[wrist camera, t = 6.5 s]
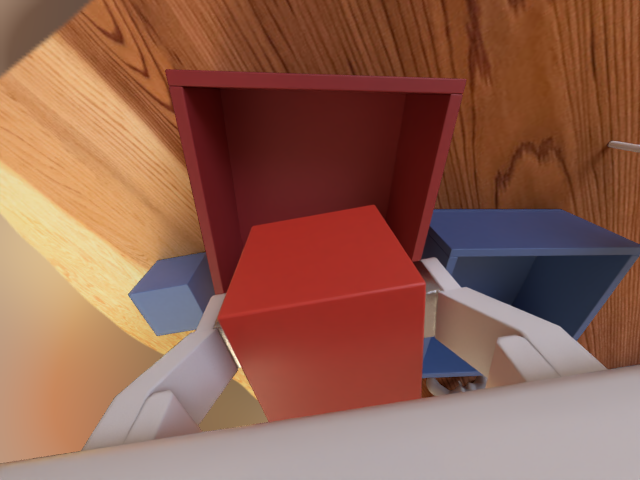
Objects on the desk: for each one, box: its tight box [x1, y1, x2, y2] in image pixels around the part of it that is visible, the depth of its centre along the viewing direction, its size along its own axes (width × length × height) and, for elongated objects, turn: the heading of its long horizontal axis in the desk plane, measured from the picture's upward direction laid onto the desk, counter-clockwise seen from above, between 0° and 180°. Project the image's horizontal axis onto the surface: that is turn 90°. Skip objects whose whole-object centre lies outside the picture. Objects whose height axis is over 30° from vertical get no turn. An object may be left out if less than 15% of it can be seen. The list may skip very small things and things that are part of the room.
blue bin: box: [421, 209, 640, 378], centre depth 23 cm, size 13×13×6 cm
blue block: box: [128, 252, 215, 336], centre depth 22 cm, size 4×4×4 cm
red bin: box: [165, 69, 466, 295], centre depth 17 cm, size 13×13×6 cm
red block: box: [218, 205, 426, 422], centre depth 8 cm, size 4×4×4 cm
